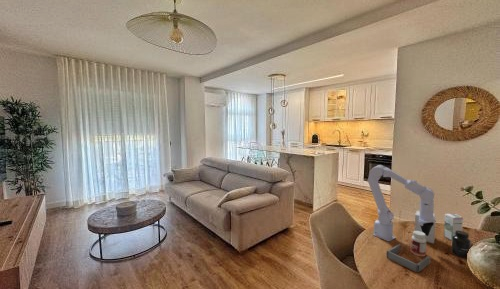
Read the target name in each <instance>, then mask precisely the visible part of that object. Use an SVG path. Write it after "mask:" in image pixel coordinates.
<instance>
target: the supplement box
mask: <svg viewBox="0 0 500 289" xmlns="http://www.w3.org/2000/svg"><path fill="white" fill-rule="evenodd" d="M433 216H434V220H435V221H436V214H435V213H433ZM419 217H420V210H416V211H415V214H414V231H420V232H422V229H421V226H420V225H418V221H419ZM435 238H436V222H435V223H434V225H433V226H432V227H431V230H430V233H429V235H428V236H426V235H425V239H426V243H430V244H435Z"/></svg>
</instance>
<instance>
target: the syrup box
mask: <svg viewBox="0 0 500 289" xmlns="http://www.w3.org/2000/svg"><path fill="white" fill-rule="evenodd" d="M463 222H464V218H463V216H460V215H458V214H455V213H452V212H451V213H444V227H443V228H444V230H443V231H444V233H443V237H445V238H447V239H448V240H450V241H452V238H453V236H454V235H455V233H456V231H463Z"/></svg>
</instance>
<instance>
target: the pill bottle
mask: <svg viewBox="0 0 500 289" xmlns="http://www.w3.org/2000/svg"><path fill="white" fill-rule="evenodd" d="M410 238H411V239H410V240H411V241H410V252H411V253H412V254H413V255H415V256H417V257H425V256H426V255H427V254H426V253H427V242H426V239H425V233H423V232H420V231H415V230H413V232H412V236H411V237H410Z"/></svg>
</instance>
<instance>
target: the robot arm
mask: <svg viewBox="0 0 500 289" xmlns="http://www.w3.org/2000/svg"><path fill="white" fill-rule="evenodd" d="M381 177H383V178H391V179H393V180H395V181H397V182H398V183H401V184H402V185H404V187H405V189H407V190H408V191H410V192H411V193H413V194H415V195H417V196H419V198H420V201H419V211H420V217H419V221H418V225H420V226H421V229H422V232H423V233H425V235H426V236H428V235H429V233H430V230H431V227H432V226H433V225H434V223H435V224H436V223H437V221H436V219H435V220H434V216H433V214H434V208H435V206H434V205H435V204H434V198H435V192H434V190H433V189H432V188H430V187H427V186H426V185H422V184H420V183H418V181H417V180H415V179H414V180H413V179H407V178H405V177H403V175H400V174H398V173H396V172H395V171H393V170H392V169H391V168H389V167H387V166H385V165H382V164H378V165H376V166H373V167H372V168H371V169H370V170H369V173H368V178H367V182H368V185H369V188H370V190H371V193H372V196H373V199H374V201H375V205H376V207H377V214H378V215H377V216H378V217H377V218H378V219H376V220H375V221H374V224H373V234H372V235H373V236H375V237H377V238H379V239H382V240H384V241H387V242H392V241H393V240H395V239H396V238H397V237H396V236H394V235H393V233H394V223H393V219H394V213H393V212H392V211H391V210H390V207H388V205H387V202H386V200H385V197H384V194H383V191H382V189H381V187H380V184H379V180H380V179H381Z"/></svg>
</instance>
